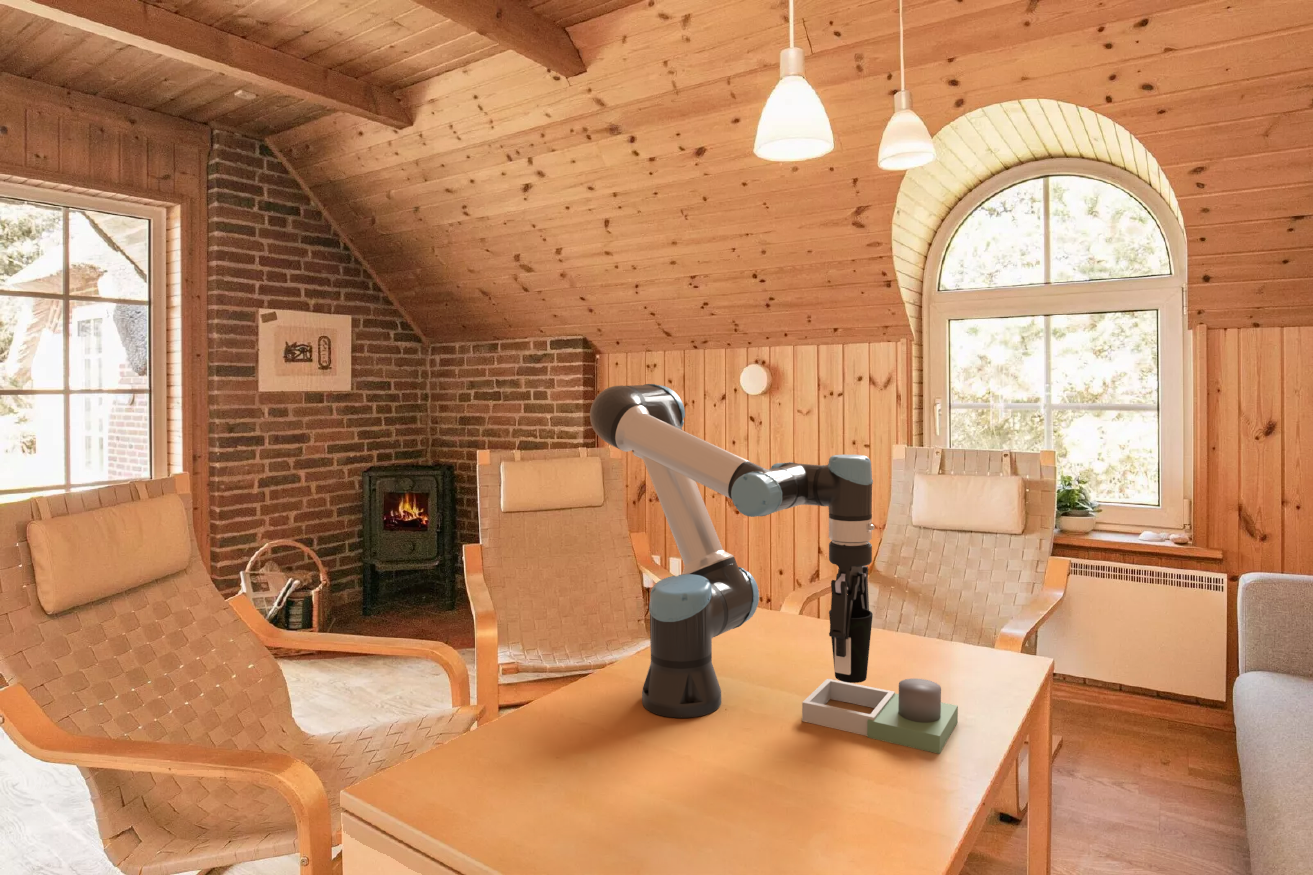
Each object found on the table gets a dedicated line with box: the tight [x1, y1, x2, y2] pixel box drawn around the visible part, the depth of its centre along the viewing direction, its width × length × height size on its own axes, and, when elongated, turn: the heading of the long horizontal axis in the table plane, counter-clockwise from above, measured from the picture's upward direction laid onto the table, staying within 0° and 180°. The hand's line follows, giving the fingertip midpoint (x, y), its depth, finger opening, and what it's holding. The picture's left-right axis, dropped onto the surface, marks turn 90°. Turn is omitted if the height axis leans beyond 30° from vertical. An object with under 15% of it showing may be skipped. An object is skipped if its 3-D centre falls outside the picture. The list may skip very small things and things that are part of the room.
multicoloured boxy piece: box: [801, 678, 959, 755], centre depth 144 cm, size 24×14×8 cm, turn 58°
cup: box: [828, 608, 874, 684], centre depth 146 cm, size 8×8×12 cm
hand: (850, 665), depth 147 cm, fingers closed on cup, 8 cm apart
